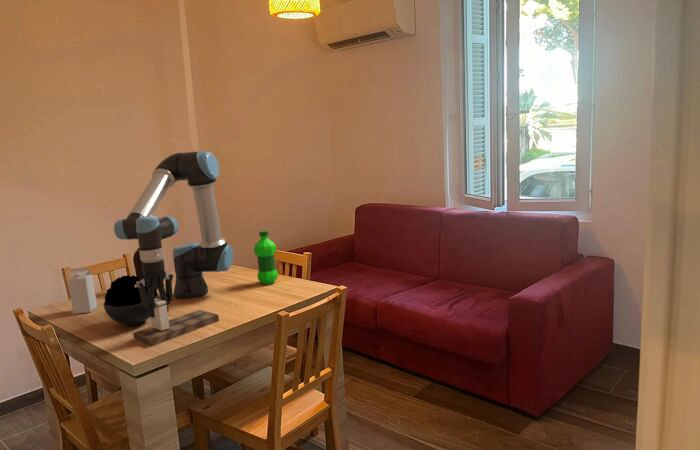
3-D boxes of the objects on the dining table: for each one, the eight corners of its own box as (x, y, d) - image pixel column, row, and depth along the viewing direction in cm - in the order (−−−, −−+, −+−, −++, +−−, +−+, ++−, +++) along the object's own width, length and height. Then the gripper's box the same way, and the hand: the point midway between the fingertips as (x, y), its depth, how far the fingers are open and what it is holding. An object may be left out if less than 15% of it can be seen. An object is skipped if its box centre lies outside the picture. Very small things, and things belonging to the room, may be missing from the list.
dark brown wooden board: (151, 346, 177) (150, 339, 176) (134, 339, 184) (133, 332, 184) (218, 320, 198) (218, 314, 198) (200, 315, 206) (199, 309, 205)
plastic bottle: (261, 279, 253) (257, 229, 249) (282, 279, 251) (277, 229, 247) (254, 285, 244) (248, 233, 240) (275, 285, 242) (270, 233, 237)
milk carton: (80, 308, 225) (73, 266, 222) (97, 307, 225) (90, 265, 222) (73, 314, 218) (66, 270, 215) (90, 312, 218) (84, 269, 215)
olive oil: (135, 293, 244) (128, 241, 240) (139, 287, 255) (132, 237, 250) (158, 290, 247) (152, 239, 242) (161, 284, 257) (155, 235, 253)
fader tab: (161, 330, 183) (158, 303, 181) (152, 327, 187) (149, 301, 185) (169, 327, 185) (166, 301, 183) (160, 324, 189) (157, 298, 187)
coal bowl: (142, 311, 215) (136, 268, 212) (172, 319, 204) (166, 273, 200) (96, 327, 199) (89, 280, 196) (125, 336, 188) (118, 286, 184)
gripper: (136, 266, 173) (145, 333, 177) (178, 256, 185) (186, 318, 189) (125, 264, 178) (134, 329, 182) (166, 254, 190) (174, 315, 194)
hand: (160, 323), depth 186 cm, fingers closed on fader tab, 3 cm apart
